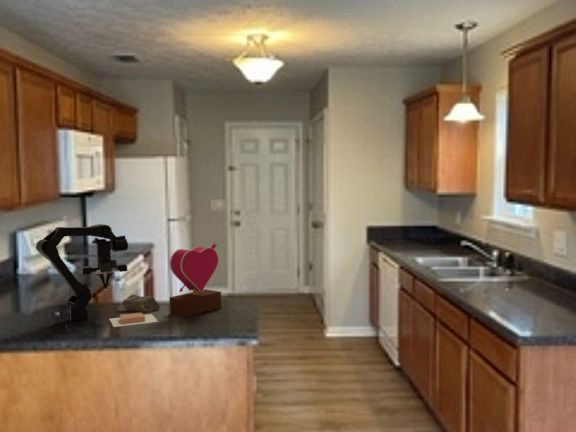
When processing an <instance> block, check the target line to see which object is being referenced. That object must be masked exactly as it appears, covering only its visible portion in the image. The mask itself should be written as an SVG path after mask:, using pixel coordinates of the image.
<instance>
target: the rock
mask: <svg viewBox="0 0 576 432" xmlns="http://www.w3.org/2000/svg"><path fill="white" fill-rule="evenodd" d="M121 304H122V306H123V308H124V310H125V311H131V312H137V313H141V312H142V313H153V312H157V311H158V310H160V308H161V306H160V303H159V302H158V301H157V300H155V297H154V296H150V295H149V296H147V295H144V296H141V295H140V296H139V295H137V294H131V295H129V296H128V297H127V298H125V299H124V300H123V301H122V302H121Z"/></svg>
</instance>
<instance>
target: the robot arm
mask: <svg viewBox="0 0 576 432" xmlns="http://www.w3.org/2000/svg"><path fill="white" fill-rule="evenodd" d="M89 236H91V237H95V238H93V240H92V241H91V244H94V245H96V262H97V266H96V267H92V266H91V265H86V266H82V267H81V274H82V275H83V276H85V275H91V274H92V273H95V275H96V276H98V277H99V278H100V281H101V283H102V286H103V289H104V290H105V289H107V288H108V285H109V281H110V278H111V277H112V275H114V274H115V273H114V271H119V272H128V265H127V264H125V263H118V261H117V259H112V256H111V255H112V254H111V252H113V253H116V252H124V251H128V248H129V242H128V239H127V238H126V236H125V235H119V236H116V235H115V234H114V232H113V230H112V227H111V226H110V225H109V224H102V223H101V224H100V223H99V224H94V225H90V226H73V227H72V226H70V227H68V226H66V227H62V226H57V227H56V228H54V229H53V230H52V231H51V232H50V233H48V234H47V235H46V236H45V237H43V238H42V239H40V240H38V241H37V243H36V244H35V250H36V251H37V252H38V253H39V254H40V255H41V256H42V257H43V258H45V259H46V260H48V261H49V262H50V264H51V265H52V266H53V267H54V269H55V270H56V272H57V273H58V274H59V276H60V277H61V278H62V280H63V281H64V282H65V284H66V286H68V288H69V292H70V294H71V296H70V297H69V298H68V299H67V301H66V303H67V304H68V306H69V316H70V318H69V320H70V323H74V322H75V323H77V322H84V321H88V319H89V315H88V311H89V310H88V308H87V307H88V305H89V301H91V299H92V296H93V295H92V293H91V291H92V290H91V289H90V288H89V287H88V284H87V283H85V282H82V281H78V279H77V278H76V277H75V275H74V274H73V272H72V271H71V270H70V269H69V267H68V266H67V265H66V262H64V260H63V259H62V258H61V256H60V252H59V249H58V248H57V246H59V245H60V244H61V242H62V240H63V239H64V238H65V237H89ZM104 273H105V275H104Z"/></svg>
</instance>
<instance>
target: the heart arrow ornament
mask: <svg viewBox="0 0 576 432" xmlns="http://www.w3.org/2000/svg"><path fill="white" fill-rule="evenodd" d="M217 246H218V244H216V242H213V244H212V245H211V247H204V246H203V247H202V246H195V247H193V248H191V249H190V250H189V249H182V248H179V249H176V250H175V251H173V253H172V255H171V257H170V259H169V267H170V271H171V272H172V274H173V276H175V277H176V278H177V279H178V281H180V282H181V283H182V284H183V286H182V287H180V289H179V294H178V295H174V296H169V297H168V299H169V314H170V315H171V316H177V317H182V318H188V317H192V316H193V317H194V316H196V314H197V315H200V314H199V313H201V314H203V313H202V312H205V313H207V312H206V311H208V312H211V311H210V310H212V311H214V310H213V309H216V310H219V309H218V308H220V309H222V308H223V307H222V295H221V294H222V292H221V291H218V290H212V289H208V288H207V289H205V288H206V286H207V284H208V283H209V281H210V280H211V278H212V276H213V275H214V273H215V272H216V270H217V268H218V265H219V256H218V255H219V254H218V252H217V251H216V247H217ZM185 287H186V288H187V289H188V291H190V292H188V293H183V294H180V293H181V292H183V291H184V288H185Z"/></svg>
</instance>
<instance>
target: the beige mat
mask: <svg viewBox="0 0 576 432" xmlns="http://www.w3.org/2000/svg"><path fill="white" fill-rule="evenodd" d="M143 315H144V316H145V321H142V322H134V323H125V324H123V323H122V321H121V320H120V317H115V318H114V317H113V318H109V319H108V320H109V321H110V323H111V325H112V327H113V328H117V327H118V328H119V327H125V326H136V325H142V324H151V323H159V321H158V319H157V318H156V317H155V316H154V315H153V314H152V313H150V314H143Z"/></svg>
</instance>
